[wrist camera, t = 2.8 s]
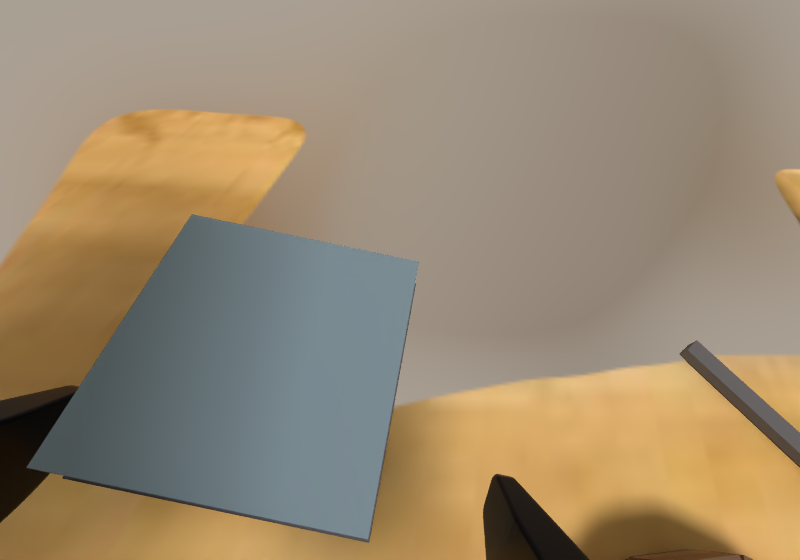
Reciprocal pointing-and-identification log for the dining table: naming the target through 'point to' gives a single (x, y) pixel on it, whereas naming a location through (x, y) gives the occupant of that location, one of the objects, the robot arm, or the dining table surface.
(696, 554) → the bead ring
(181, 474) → the blue-gray square peg
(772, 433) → the thin gray square rod
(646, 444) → the dining table surface
